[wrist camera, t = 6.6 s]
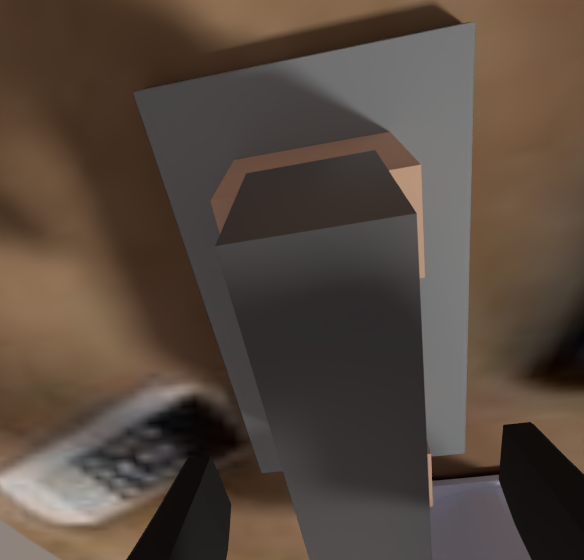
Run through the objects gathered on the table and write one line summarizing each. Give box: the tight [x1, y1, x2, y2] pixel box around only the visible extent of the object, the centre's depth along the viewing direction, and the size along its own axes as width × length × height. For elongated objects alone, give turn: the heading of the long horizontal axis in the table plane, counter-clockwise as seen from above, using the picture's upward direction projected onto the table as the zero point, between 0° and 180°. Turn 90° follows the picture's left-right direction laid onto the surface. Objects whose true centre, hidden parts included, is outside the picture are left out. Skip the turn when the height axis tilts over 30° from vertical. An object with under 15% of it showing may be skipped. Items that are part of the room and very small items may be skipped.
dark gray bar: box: [215, 150, 432, 560], centre depth 11 cm, size 14×3×4 cm, turn 11°
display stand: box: [133, 22, 475, 507], centre depth 15 cm, size 18×10×5 cm, turn 10°
